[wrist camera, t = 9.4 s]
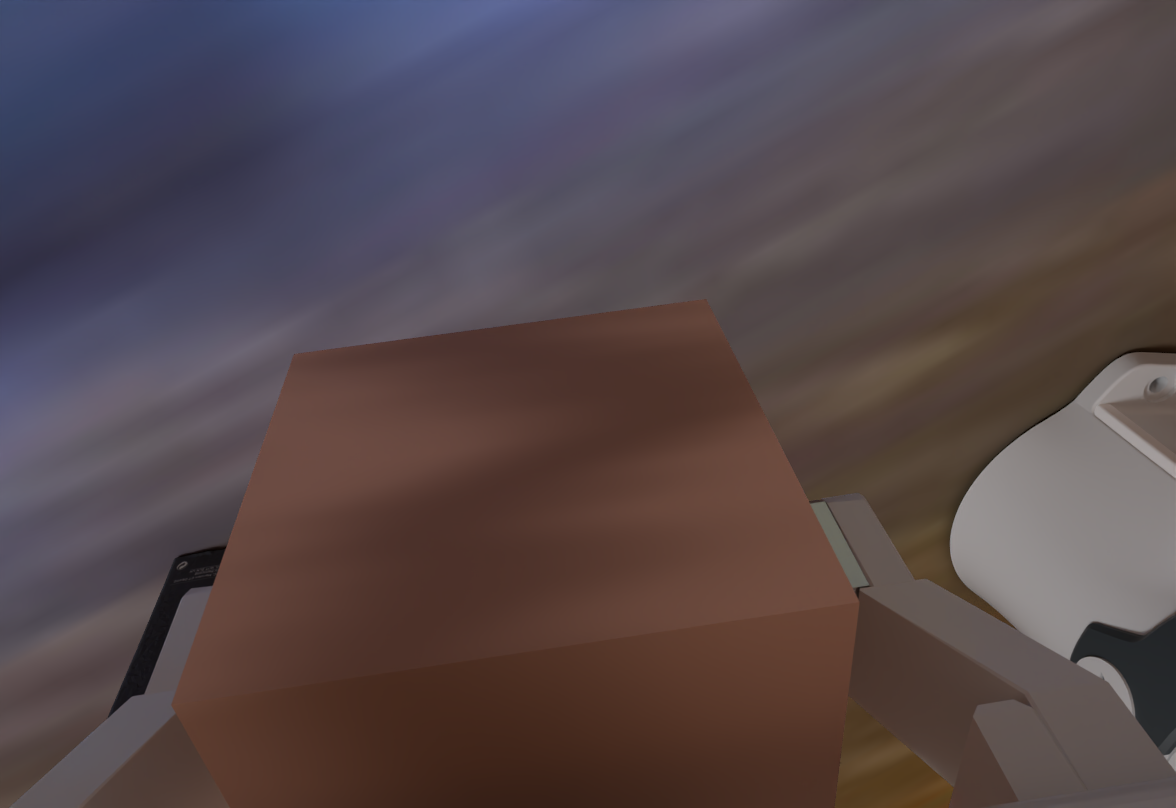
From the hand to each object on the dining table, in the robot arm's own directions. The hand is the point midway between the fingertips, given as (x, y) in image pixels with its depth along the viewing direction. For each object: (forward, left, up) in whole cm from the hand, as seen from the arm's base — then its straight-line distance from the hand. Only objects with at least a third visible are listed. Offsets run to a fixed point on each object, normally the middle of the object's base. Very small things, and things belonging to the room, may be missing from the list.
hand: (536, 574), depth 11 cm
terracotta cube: (0, 0, -2) cm, 2 cm away
